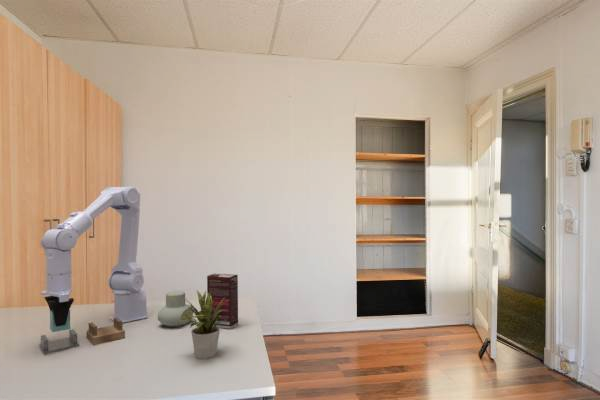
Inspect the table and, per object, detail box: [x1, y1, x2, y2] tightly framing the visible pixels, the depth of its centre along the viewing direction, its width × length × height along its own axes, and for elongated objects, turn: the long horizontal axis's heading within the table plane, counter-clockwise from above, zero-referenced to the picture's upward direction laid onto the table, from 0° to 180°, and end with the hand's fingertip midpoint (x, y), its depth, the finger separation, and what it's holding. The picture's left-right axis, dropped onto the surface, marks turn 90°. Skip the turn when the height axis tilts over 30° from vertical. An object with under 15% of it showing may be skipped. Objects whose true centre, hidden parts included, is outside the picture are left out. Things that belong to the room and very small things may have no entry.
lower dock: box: [38, 328, 80, 355], centre depth 101 cm, size 8×8×3 cm
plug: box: [49, 309, 71, 333], centre depth 101 cm, size 4×4×6 cm
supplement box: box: [206, 272, 239, 330], centre depth 117 cm, size 9×5×16 cm, turn 71°
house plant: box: [177, 290, 228, 360], centre depth 95 cm, size 14×14×16 cm
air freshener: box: [157, 290, 194, 327], centre depth 119 cm, size 11×8×10 cm
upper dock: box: [86, 317, 126, 346], centre depth 107 cm, size 8×8×4 cm
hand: (59, 323), depth 101 cm, fingers closed on plug, 4 cm apart
